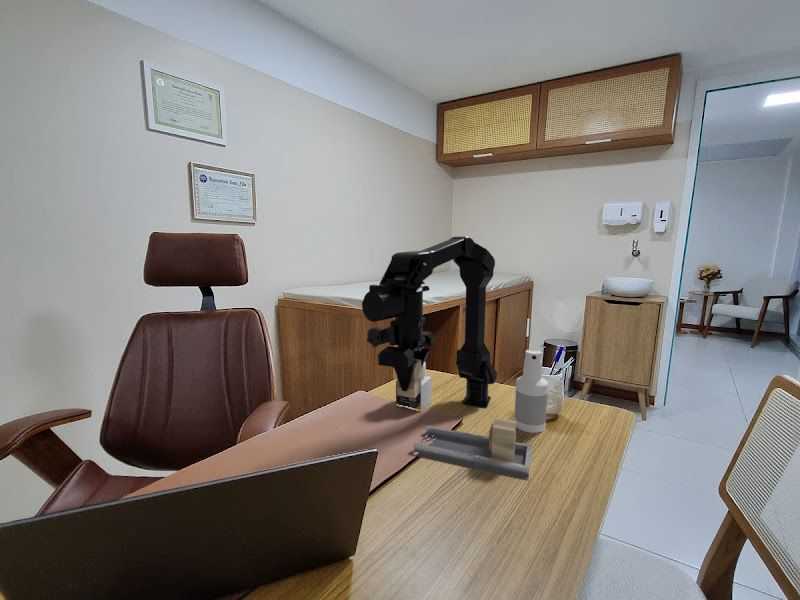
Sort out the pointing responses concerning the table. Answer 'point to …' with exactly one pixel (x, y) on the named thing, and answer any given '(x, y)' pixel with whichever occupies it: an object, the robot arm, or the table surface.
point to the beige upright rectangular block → (502, 440)
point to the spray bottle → (531, 395)
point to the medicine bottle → (423, 396)
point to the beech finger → (412, 383)
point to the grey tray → (474, 458)
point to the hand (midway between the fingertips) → (408, 386)
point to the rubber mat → (470, 449)
